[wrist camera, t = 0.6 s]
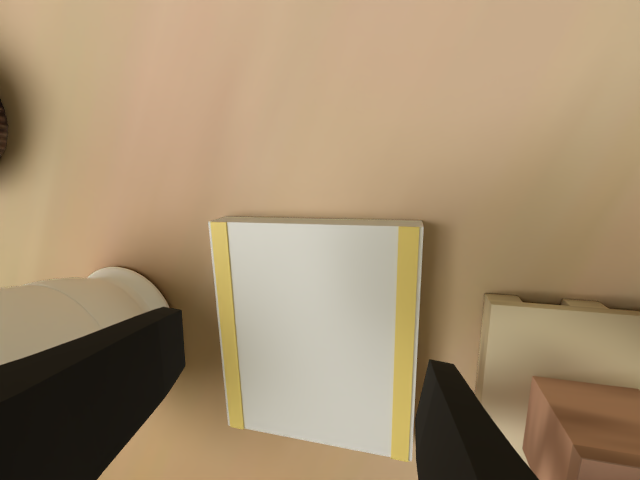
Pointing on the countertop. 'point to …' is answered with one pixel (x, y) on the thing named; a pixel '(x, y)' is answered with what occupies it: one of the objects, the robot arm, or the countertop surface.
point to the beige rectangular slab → (550, 353)
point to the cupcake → (3, 129)
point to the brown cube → (582, 431)
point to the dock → (320, 328)
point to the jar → (70, 309)
